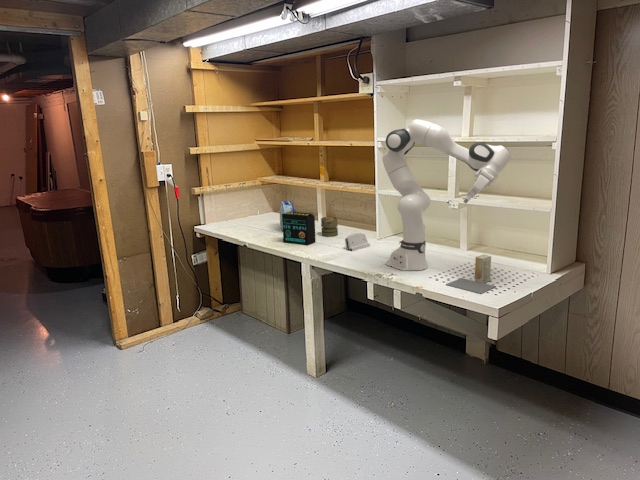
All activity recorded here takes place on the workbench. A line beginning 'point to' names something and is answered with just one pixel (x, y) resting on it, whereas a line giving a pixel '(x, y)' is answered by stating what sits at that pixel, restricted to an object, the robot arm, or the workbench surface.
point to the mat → (471, 285)
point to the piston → (329, 227)
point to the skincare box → (482, 268)
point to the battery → (299, 228)
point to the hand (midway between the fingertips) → (466, 201)
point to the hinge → (356, 242)
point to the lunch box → (285, 209)
